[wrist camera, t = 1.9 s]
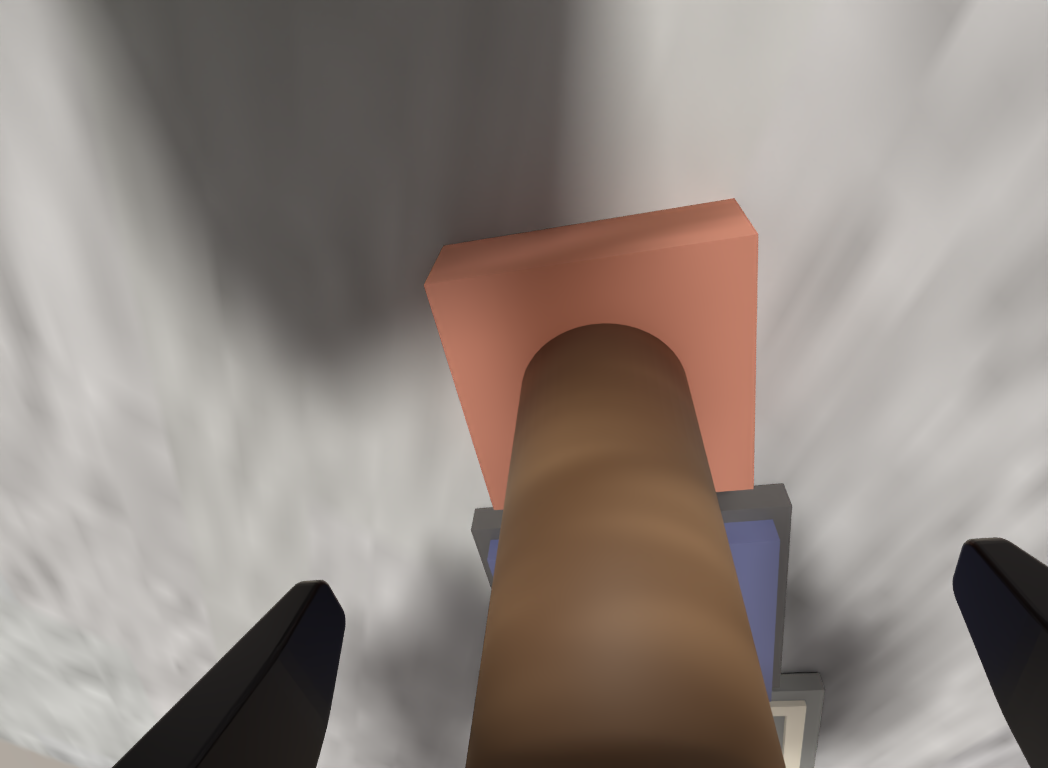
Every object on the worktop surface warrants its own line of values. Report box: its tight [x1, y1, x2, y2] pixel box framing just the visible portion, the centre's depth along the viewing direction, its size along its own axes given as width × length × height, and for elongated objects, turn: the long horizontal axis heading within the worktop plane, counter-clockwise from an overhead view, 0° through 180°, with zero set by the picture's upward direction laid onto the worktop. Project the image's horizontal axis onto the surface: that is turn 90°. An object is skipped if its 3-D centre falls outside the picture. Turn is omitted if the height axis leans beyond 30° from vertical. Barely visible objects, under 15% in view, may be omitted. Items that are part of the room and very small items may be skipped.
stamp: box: [424, 198, 786, 768], centre depth 10 cm, size 6×6×10 cm
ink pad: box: [471, 484, 792, 702], centre depth 18 cm, size 8×8×2 cm
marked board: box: [769, 673, 825, 768], centre depth 24 cm, size 11×11×1 cm
